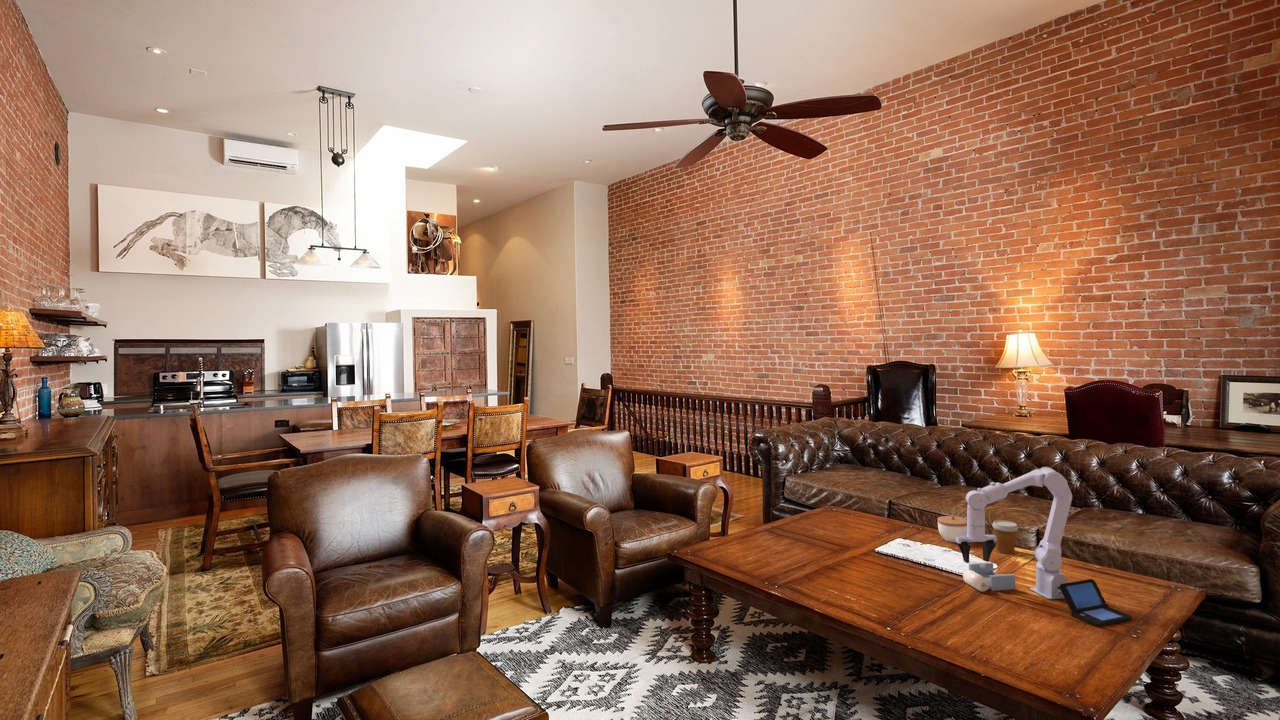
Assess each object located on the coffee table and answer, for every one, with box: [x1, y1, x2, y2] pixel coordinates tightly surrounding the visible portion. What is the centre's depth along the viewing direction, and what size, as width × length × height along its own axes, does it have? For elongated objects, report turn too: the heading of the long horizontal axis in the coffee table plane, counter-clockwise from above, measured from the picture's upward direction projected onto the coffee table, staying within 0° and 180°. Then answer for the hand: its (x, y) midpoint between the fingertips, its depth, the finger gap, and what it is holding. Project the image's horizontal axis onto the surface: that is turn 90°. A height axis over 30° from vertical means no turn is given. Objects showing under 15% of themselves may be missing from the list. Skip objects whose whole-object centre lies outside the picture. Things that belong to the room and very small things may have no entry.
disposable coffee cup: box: [991, 520, 1019, 555], centre depth 269 cm, size 10×10×12 cm
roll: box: [962, 569, 990, 592], centre depth 233 cm, size 8×5×5 cm, turn 6°
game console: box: [1060, 578, 1133, 627], centre depth 208 cm, size 16×14×9 cm
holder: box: [968, 561, 1017, 592], centre depth 237 cm, size 14×9×5 cm, turn 6°
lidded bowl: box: [937, 514, 967, 543], centre depth 286 cm, size 13×13×11 cm
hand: (976, 561), depth 233 cm, fingers open, 7 cm apart
